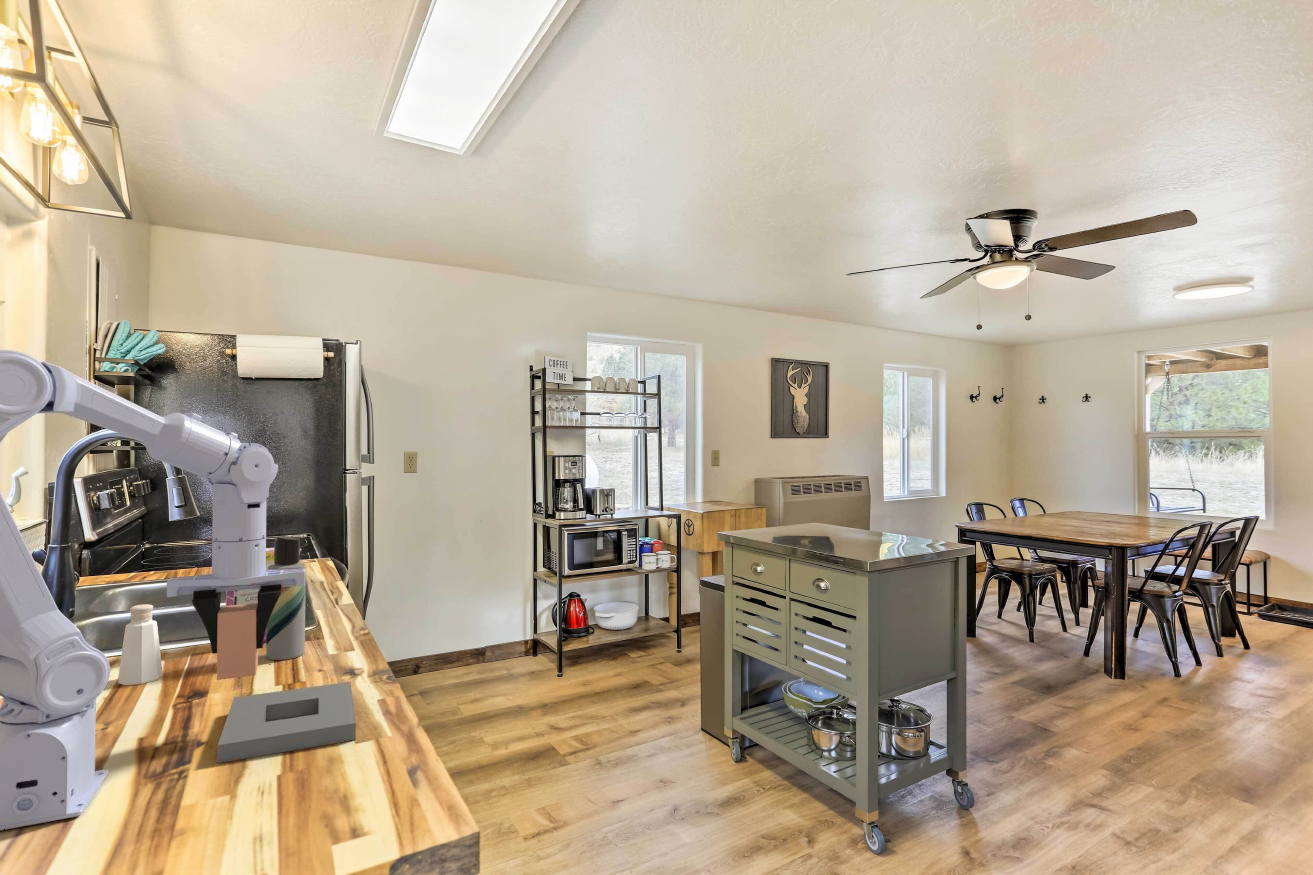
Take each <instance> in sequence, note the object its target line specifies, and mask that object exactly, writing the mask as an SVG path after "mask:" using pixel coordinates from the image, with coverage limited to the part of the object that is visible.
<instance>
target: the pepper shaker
mask: <svg viewBox="0 0 1313 875" xmlns="http://www.w3.org/2000/svg"><path fill="white" fill-rule="evenodd" d="M153 610H154V605H152V604H147V603H145V604H144V603H143V604H137V605H133V606H132V607H130V608H129V611H130V622H129V623H126V625H125V628H124V634H123V635H124V637H123V640H122V642H123V643H122V648H121V655H120V662H119V669H118V676H117V684H120V685H123V686H135V685H143V684H147V683H151V682H155V681H157V680H159V679H160V678H161V677H162V676H163V675H164V674H163V673H164V672H163V664H162V655H161V648H160V638H159V637H160V636H159V631H158V630H159V629H158V622H157V621H156V620H153Z"/></svg>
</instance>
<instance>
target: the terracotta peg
mask: <svg viewBox="0 0 1313 875" xmlns="http://www.w3.org/2000/svg"><path fill="white" fill-rule="evenodd" d="M257 628H258V603H252V604H241V605H230V606H226V605H220V610H219V612H218V623H217V653H216V680H217V681H220V680H228V679H235V678H244V677H250V676H251V677H252V676H256V675H257V671H258V666H259V649H256V637H257Z"/></svg>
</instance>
